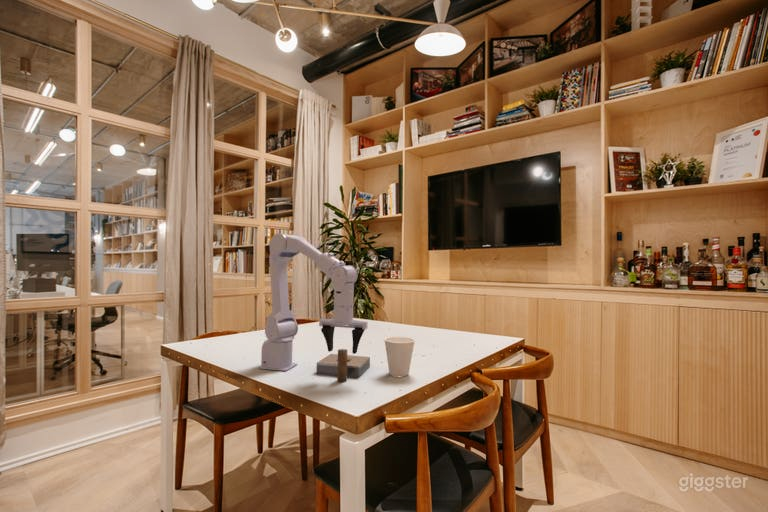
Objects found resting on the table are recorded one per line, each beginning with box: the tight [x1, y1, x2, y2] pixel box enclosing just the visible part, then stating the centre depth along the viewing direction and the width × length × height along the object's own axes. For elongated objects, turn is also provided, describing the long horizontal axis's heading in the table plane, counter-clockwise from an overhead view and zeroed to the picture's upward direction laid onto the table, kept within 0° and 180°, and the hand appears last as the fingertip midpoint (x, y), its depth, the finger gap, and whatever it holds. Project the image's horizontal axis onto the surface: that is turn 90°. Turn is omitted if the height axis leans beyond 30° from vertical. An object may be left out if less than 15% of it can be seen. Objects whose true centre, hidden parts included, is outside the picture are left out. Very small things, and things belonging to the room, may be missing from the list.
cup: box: [383, 336, 416, 377], centre depth 118 cm, size 10×10×11 cm
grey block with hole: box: [316, 353, 371, 379], centre depth 121 cm, size 14×12×3 cm
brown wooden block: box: [336, 348, 348, 383], centre depth 111 cm, size 3×3×9 cm
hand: (342, 351), depth 111 cm, fingers open, 7 cm apart
